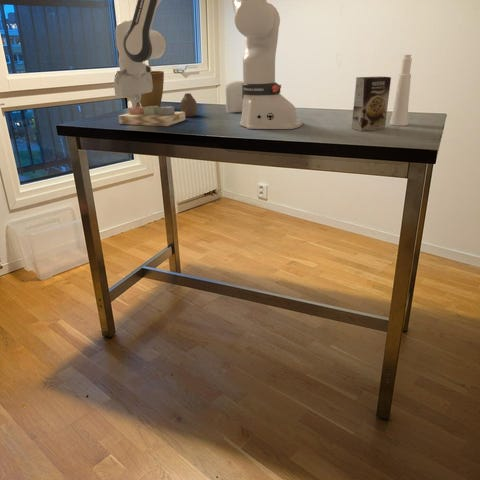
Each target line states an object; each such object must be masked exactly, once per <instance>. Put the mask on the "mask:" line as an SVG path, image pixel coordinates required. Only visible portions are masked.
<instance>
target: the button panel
mask: <svg viewBox="0 0 480 480" xmlns="http://www.w3.org/2000/svg"><path fill="white" fill-rule="evenodd" d="M174 112H175V114H173V115H170V116H165V115H159V114H156V115H144V113H143V114H140V115H139V114H130V112H128V113H124V114H120V115H118V122H119V124H120V125H133V126H134V125H138V126H154V127H157V126H158V127H169V126H171V125H174V124H177V123H180V122H183V121H185V120H186V116H185V112H181V111H174Z"/></svg>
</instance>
